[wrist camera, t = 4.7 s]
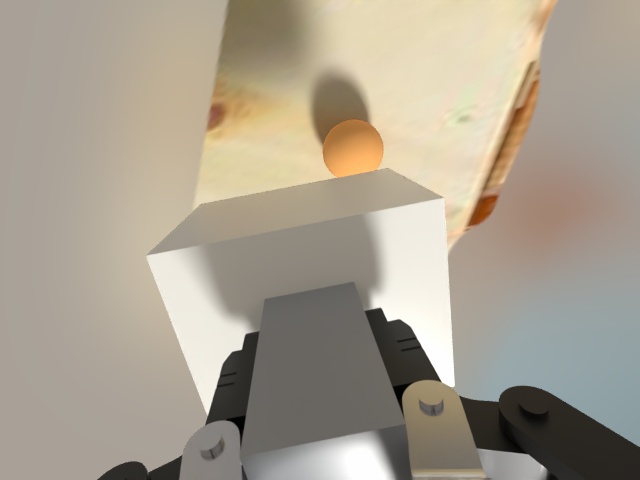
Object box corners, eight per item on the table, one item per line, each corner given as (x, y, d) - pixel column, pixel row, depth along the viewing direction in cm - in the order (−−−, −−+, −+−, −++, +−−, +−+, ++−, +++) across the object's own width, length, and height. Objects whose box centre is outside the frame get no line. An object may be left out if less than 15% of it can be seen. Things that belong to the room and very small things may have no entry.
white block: (201, 203, 18) (-3, 393, 6) (387, 168, 18) (593, 276, 6) (240, 330, 21) (161, 647, 8) (402, 299, 21) (562, 565, 8)
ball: (316, 125, 30) (320, 125, 25) (372, 115, 30) (386, 113, 25) (325, 181, 32) (330, 191, 27) (378, 171, 32) (393, 180, 27)
